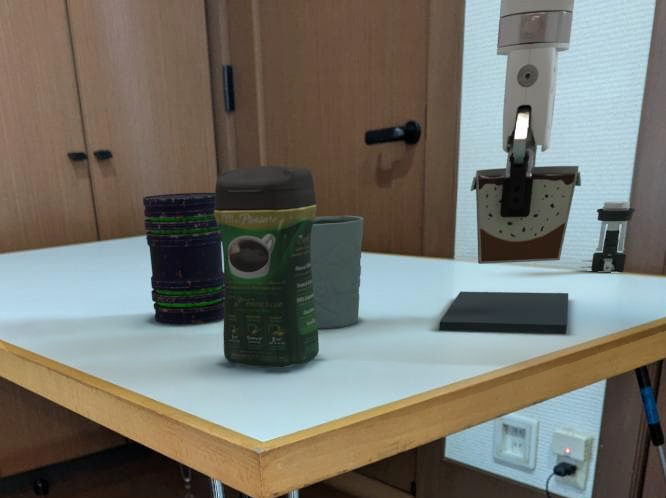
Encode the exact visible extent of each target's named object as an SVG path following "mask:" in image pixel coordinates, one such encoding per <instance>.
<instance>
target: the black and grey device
mask: <svg viewBox="0 0 666 498" xmlns="http://www.w3.org/2000/svg"><path fill="white" fill-rule="evenodd" d="M630 204H631V202H630V201H624V200H623V201H621V200H620V201H619V200H617V201H614V200H613V201H604V203H603V206H602V208H598V209H596V213H597V221H599V222H601V223H600V230H599V231H600V232H599V237H598V245H597V247H596V248H595V251H596V252H594V253H592V259H587V260H586V259H585V260H584V259H583V260H582V259H581V260H580V262H583V263H584V262H587V263H591V265H589V266H588V265H587V266H584V265H583V266H580V267H579V268H581V269H585V268H586V269H591V270H590V271H591V272H593V273H595V272H596V273H623V272H624V270H625V263H626V257H627V255H626V252H624V251H625V247H624V242H625V235H626V229H627V223H628V222H630V221H631V220H632V219H633V213H635V212H636V209H635V208H633V207H631V206H630ZM620 225H621V227H620ZM606 226H607V227H606Z"/></svg>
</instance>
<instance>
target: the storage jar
mask: <svg viewBox="0 0 666 498" xmlns="http://www.w3.org/2000/svg"><path fill="white" fill-rule="evenodd" d="M142 204H143V206H144V209H143V215H144V218H146V219H144V220H143V221H144V229H145V230H146V233H145V234H146V238H145V240H146V243H147V246H148V247H149V256H150V265H151V266H150V267H151V277H150V285H151V289H152V290H151V291H150V292H151V293H150V294H151V301H152V302H154V303H153V310H154V311H155V312H154V313H155V314H154V321H155V323H157V324H162V325H167V326H198V325H205V324H212V323H217V322H220V321H224V265H223V249H222V239H221V234H220V231H219V228H218V225H217V222H216V219H215V213H214V211H215V192H187V193H185V192H184V193H168V194H167V193H166V194H156V195H147V196H144V197H142Z"/></svg>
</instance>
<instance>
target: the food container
mask: <svg viewBox="0 0 666 498" xmlns="http://www.w3.org/2000/svg"><path fill="white" fill-rule="evenodd" d="M579 168H580V167H579V165H550V166H549V165H547V166H546V165H545V166H543V165H542V166H535V167H532V173H531V178H533V187H532V196H531V206H530V214H529V216H527V217H501V215H500V211H501V199H502V188H503V179H505V173H506V167H501V168H487V169H486V168H485V169H478V170H477V169H476V171H475V176H473V178H472V182H471V186H470V190H469V191H470V192H473V191H475V197H476V199H475V200H476V201H475V202H476V230H477V231H476V232H477V260H478V261H477V263H478V264H479V265H485V264H486V265H487V264H508V263H509V264H511V263H527V262H551V261H553V262H554V261H561V255H562V250H563V245H564V241H565V236H566V232H567V226H568V221H569V217H570V212H571V209H572V202H573V198H574V193H575V188H576V187H581V186H582V178H581V172H580V171H579Z"/></svg>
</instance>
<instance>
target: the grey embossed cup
mask: <svg viewBox="0 0 666 498" xmlns="http://www.w3.org/2000/svg"><path fill="white" fill-rule="evenodd" d="M364 221H365V220H364V217H363V216H358V215H331V216H330V215H329V216H315V220H314V223H313V226H312V230H311V241H310V257H311V271H312V282H313V293H314V302H315V311H316V319H317V327H318V330H319V329H320V330H321V329H337V328H343V327H349V326H352V325H354V324H356V323H357V322H358V320H359V311H360V287H361V275H362V274H361V273H362V264H361V259H362V243H363V237H364V236H363V235H364Z"/></svg>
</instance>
